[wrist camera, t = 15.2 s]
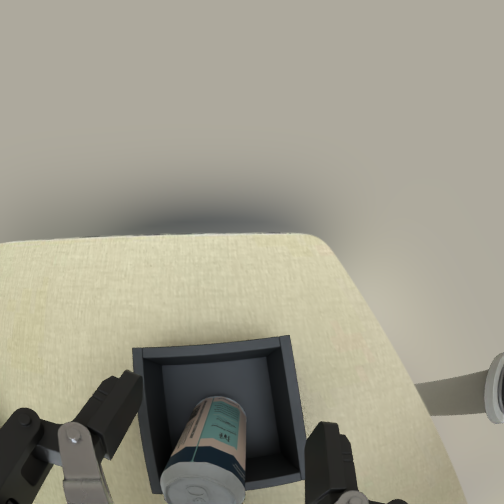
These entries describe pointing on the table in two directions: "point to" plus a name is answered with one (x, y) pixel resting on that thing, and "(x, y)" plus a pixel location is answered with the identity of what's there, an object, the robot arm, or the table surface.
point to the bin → (230, 386)
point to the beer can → (209, 456)
